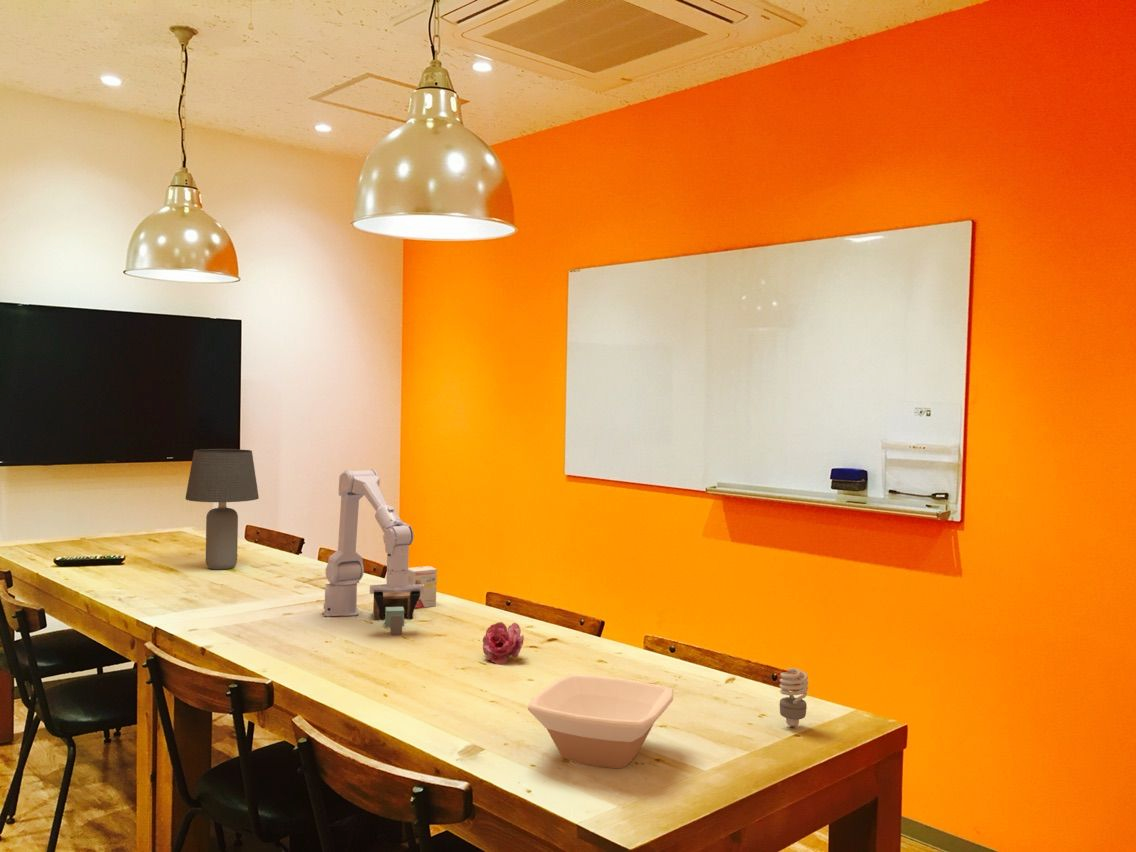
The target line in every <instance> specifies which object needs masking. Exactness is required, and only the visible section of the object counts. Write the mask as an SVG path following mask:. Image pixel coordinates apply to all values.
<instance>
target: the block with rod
mask: <svg viewBox="0 0 1136 852" xmlns="http://www.w3.org/2000/svg"><path fill="white" fill-rule="evenodd" d="M384 615H385V616H384V624H385V628H389V629H390V631H389V633H390V635H392V636H393V635H394V636H396V635H399V636H400V635H401V636H402V635H403V626H404V627H405V613H404V608H403V607H385V614H384Z"/></svg>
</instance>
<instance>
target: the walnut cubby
mask: <svg viewBox="0 0 1136 852" xmlns="http://www.w3.org/2000/svg"><path fill="white" fill-rule="evenodd" d="M385 607H403V608H404V614H405V615H406V618H407V620H409V609H410V592H406V593H383V615H385ZM372 611H373V612H372V615H373V620H374V621H375V620H376V621H377V620H380V611H379V608H378V605H377V602H376V600H375V598H374V597H373V610H372ZM413 616H414V615H413ZM413 616H412V619H413V618H414V617H413ZM412 619H411V620H412Z"/></svg>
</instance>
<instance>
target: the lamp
mask: <svg viewBox="0 0 1136 852" xmlns="http://www.w3.org/2000/svg"><path fill="white" fill-rule="evenodd" d="M190 465H191V466H190V472H189V476H188V482H187V487H186V493H185V500H186V501H189V502H198V503H199V502H200V503H218V506H217V507H215V508H212V509H210V510H209V511H208V512H207V514H206V516H205V517H206V520H205V521H206V523H205V524H206V525H205V565H206V566H207V568H209V569H210V570H216V571H218V570H219V571H222V570H223V571H225V570H230V569H233V568H235V566H236V565H237V563H238V541H239V540H238V538H239V536H238V534H239V533H238V531H239V528H238V527H239V515H238V512H237V511H236V510H235V509H233V508H230V507H228V506H227V503H236V502H237V503H239V502H249V501H255V500H256V501H257V500H259V499H260V498H259V497H260V496H259V492H258V491H259V490H258V482H257V477H256V476H257V475H256V470H255V463H254V456H253V451H252V450H250V449H240V448H239V449H237V448H234V449H233V448H208V449H205V448H204V449H203V448H202V449H195V450H194V451H193V455H192V461H191V464H190Z"/></svg>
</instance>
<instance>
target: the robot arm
mask: <svg viewBox="0 0 1136 852" xmlns="http://www.w3.org/2000/svg"><path fill="white" fill-rule="evenodd" d="M338 481H339V482H338V496H339V497H340V508H339V509H340V512H339V528H338V543H337V544H338V545H337V550H336V551H335V552H333V553H332V554H331V555H330V556H328V560H327V561H328V562H327V565H326V567H325V577H326V580H327V581H328V583H325V584H324V602H323V610H324V615H323V616H324V617H348V616H351V617H352V616H358V615H359V609H358V608H357V607H358V606H357V602H358V599H357V597H358V596H357V595H358V584H360V580H362V578H363V576H364V572H365V571H364V570H365V569H364V562H363V557H362V555H361V554H359V553H358V552H357V538H358V536H357V535H358V520H359V518H358V517H359V508H360V507H359V504H360V500H361V499H362V498H363V497H364V496H365V498H366V499H367V501H368V502H369V503H370V505H371V506H372V507H373V509H374V510H375V513H374V518H375V520H376V521H377V523H378V525H379V527H380V528H381V530H382V532H383V537H382V538H383V539H382V540H383V543H384V547H385V549H384V550H385V553H386V556H387V557H386V583H383V584H370V585H369V594H371V595H373V599H374V598H375V600H376V602H377V605H378V608H379V611H380V614H379V620H380V621H384V614H383V593H406V592H410V609H409V619H408V620H412V616H414V615H413V614H414V611H415V610H416V609H415V606H416V604H417V601H418V600H419V597H420V593H424V584H408V568H409V553H410V551H409V549H410V546H411V545H412V544H413V541H414V531H413V528H412V526H411V525H410V524H408V523H406V522H403V520H402V519H401V518H400V516H399V514H398V513H397V511H396V509H395V508H394V506H393V505H388V503H387V501H386V499H385V497H384V495H383V492H382V491H381V488H380V483H381V482H380V481H381V478H380V477H379V474H378V472H377V470H375V469H365V470H364V469H361V470H360V469H359V470H347V469H346V470H344V471H343V472H342V473H340V475H339V478H338Z"/></svg>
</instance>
